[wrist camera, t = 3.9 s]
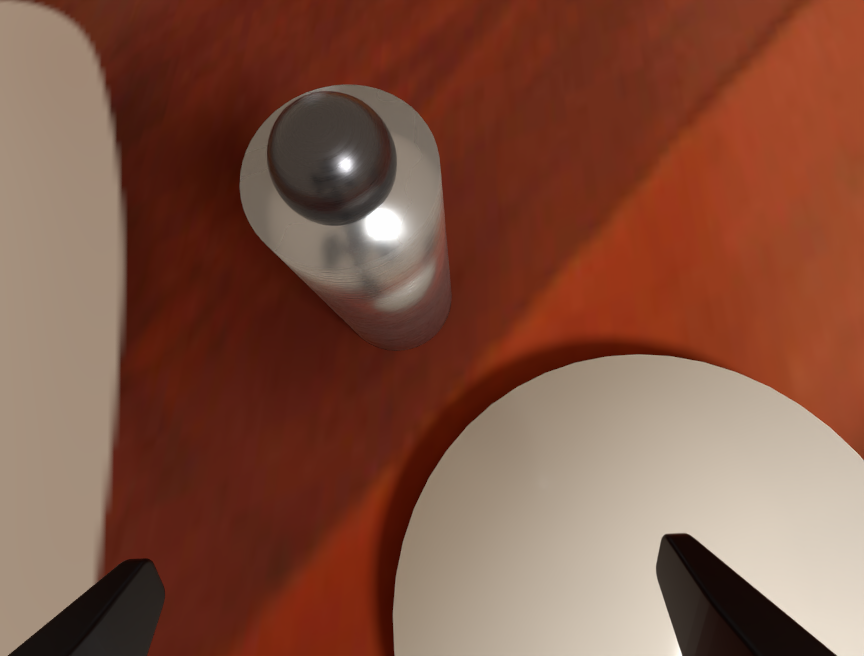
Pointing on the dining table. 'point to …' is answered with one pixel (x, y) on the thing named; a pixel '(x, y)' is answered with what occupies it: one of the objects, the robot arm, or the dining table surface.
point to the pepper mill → (355, 209)
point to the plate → (628, 513)
